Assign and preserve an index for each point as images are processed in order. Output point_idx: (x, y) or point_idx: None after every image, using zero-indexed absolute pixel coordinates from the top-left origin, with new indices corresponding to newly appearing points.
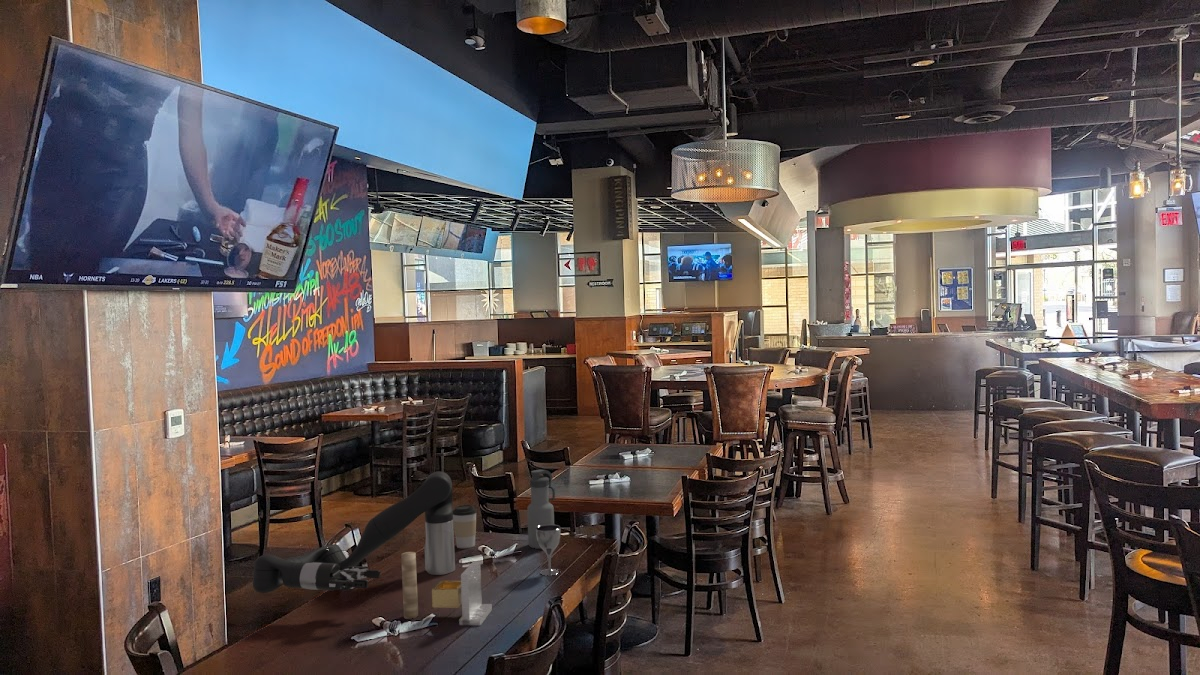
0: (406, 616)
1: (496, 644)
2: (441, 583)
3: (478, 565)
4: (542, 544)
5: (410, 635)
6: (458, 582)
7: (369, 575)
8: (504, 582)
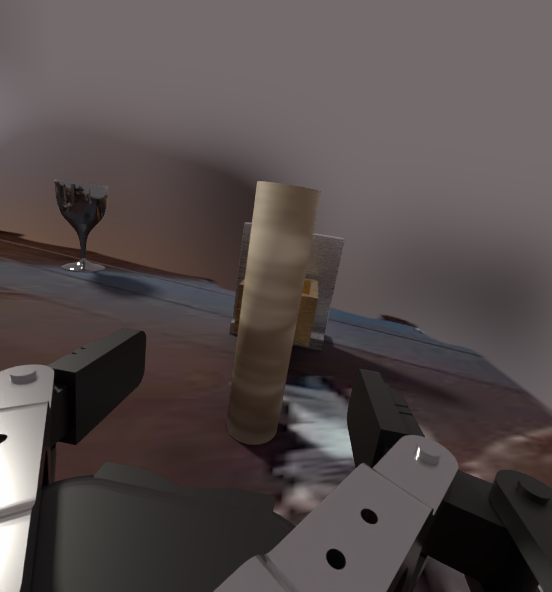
0: (276, 428)
1: (392, 329)
2: None
3: None
4: (94, 213)
5: None
6: None
7: (92, 407)
8: (84, 294)
